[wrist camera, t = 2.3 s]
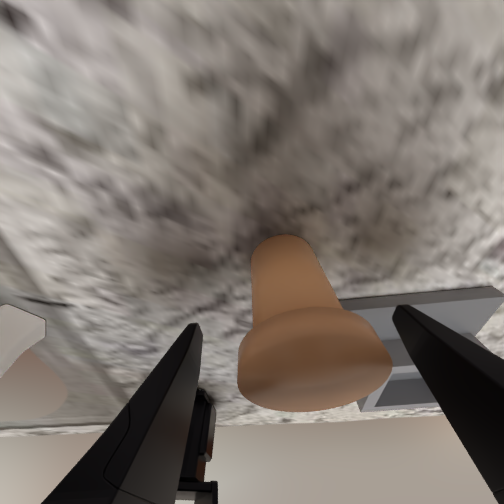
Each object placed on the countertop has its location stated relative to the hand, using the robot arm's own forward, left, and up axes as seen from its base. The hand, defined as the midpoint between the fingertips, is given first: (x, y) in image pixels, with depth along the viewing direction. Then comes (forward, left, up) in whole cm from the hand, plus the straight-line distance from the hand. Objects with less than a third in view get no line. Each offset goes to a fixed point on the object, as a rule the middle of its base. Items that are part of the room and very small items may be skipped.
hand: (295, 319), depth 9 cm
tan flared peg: (0, 0, -4) cm, 4 cm away
